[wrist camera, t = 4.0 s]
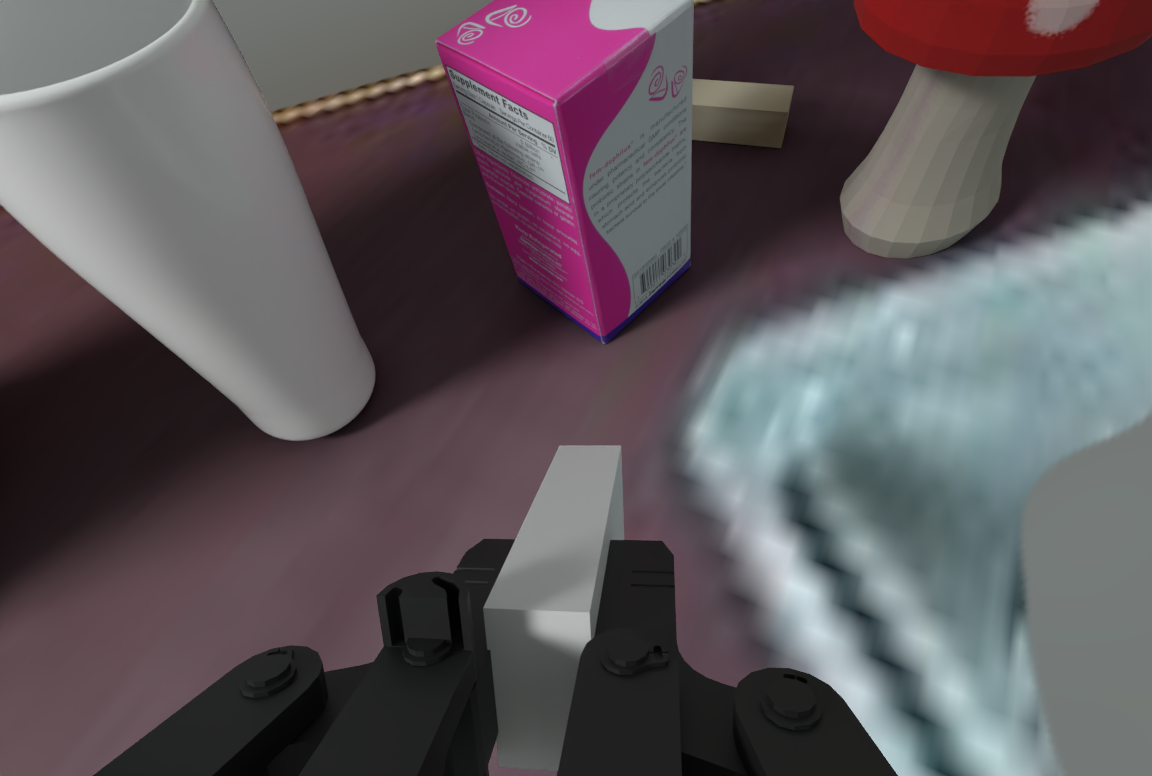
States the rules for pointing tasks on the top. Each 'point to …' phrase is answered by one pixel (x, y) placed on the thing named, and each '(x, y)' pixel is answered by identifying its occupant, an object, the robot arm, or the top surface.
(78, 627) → the top surface
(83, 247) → the drinking glass
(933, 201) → the decorative mushroom
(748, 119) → the bar
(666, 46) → the supplement box
